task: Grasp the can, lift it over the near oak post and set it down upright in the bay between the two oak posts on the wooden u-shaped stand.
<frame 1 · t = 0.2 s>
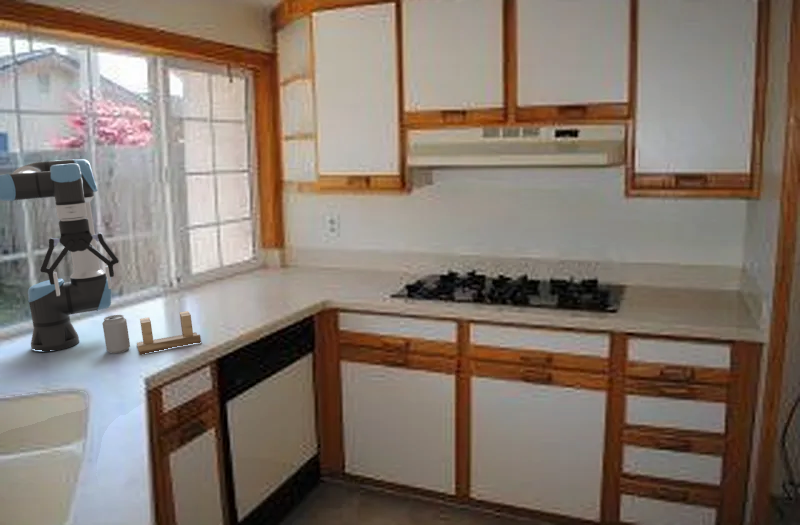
hand: (84, 291, 187), 28 cm above the countertop, fingers open, 13 cm apart
wooden u-shaped stand: (169, 344, 223), on the countertop
can: (118, 351, 221), on the countertop
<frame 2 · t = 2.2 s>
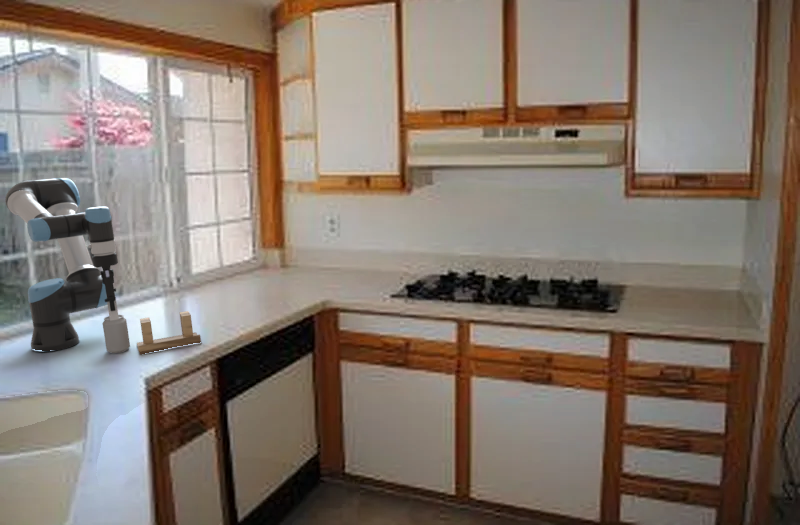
hand: (113, 315, 218), 12 cm above the countertop, fingers open, 13 cm apart
nothing on the countertop moved.
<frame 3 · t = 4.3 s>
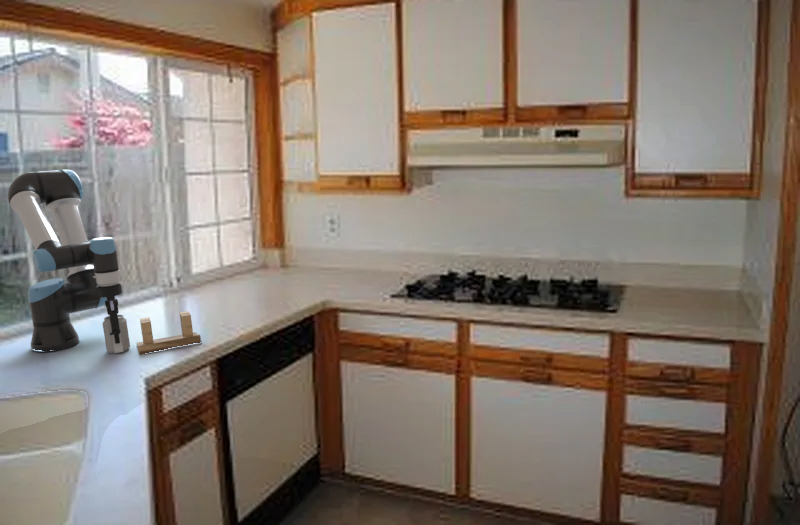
hand: (118, 348, 220), 1 cm above the countertop, fingers closed on can, 7 cm apart
can: (118, 350, 220), on the countertop, touching gripper
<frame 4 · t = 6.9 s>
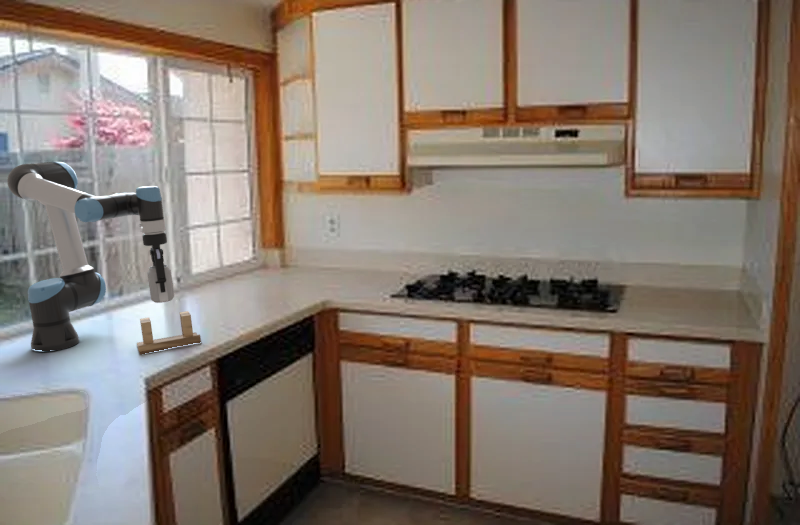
hand: (162, 298, 220), 16 cm above the countertop, fingers closed on can, 7 cm apart
can: (163, 301, 220), point 16 cm above the countertop, touching gripper
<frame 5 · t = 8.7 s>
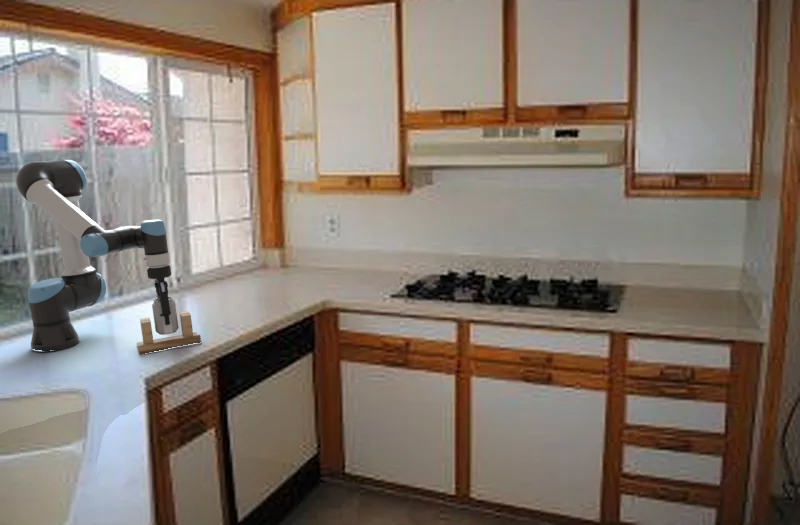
hand: (167, 330, 222), 5 cm above the countertop, fingers closed on can, 7 cm apart
can: (167, 332, 223), point 4 cm above the countertop, touching gripper
when the fingers open (4 cm above the countertop, at t = 9.9 s): can drops 2 cm, resting on wooden u-shaped stand.
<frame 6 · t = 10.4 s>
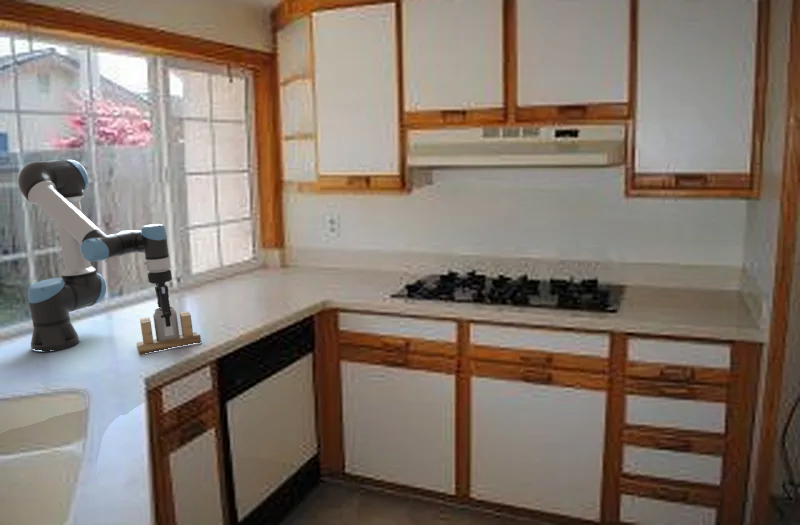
hand: (167, 330, 222), 5 cm above the countertop, fingers open, 13 cm apart
can: (168, 342, 223), point 1 cm above the countertop, touching wooden u-shaped stand
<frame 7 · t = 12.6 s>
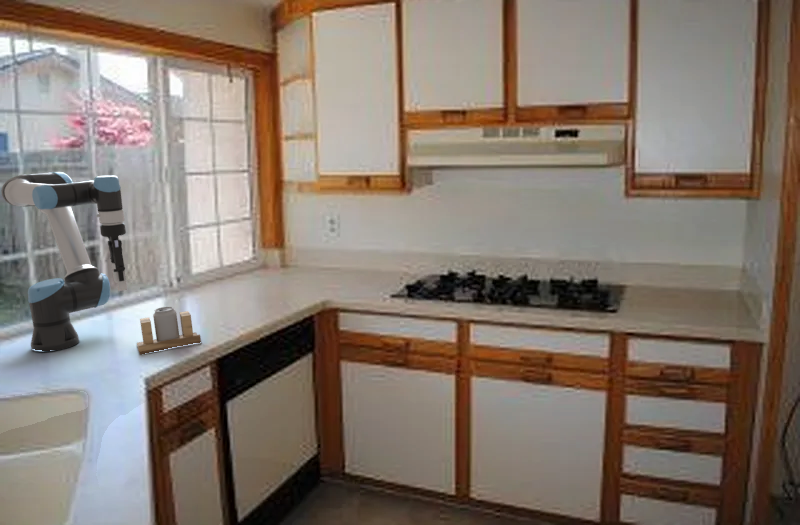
hand: (120, 286, 216), 22 cm above the countertop, fingers open, 13 cm apart
nothing on the countertop moved.
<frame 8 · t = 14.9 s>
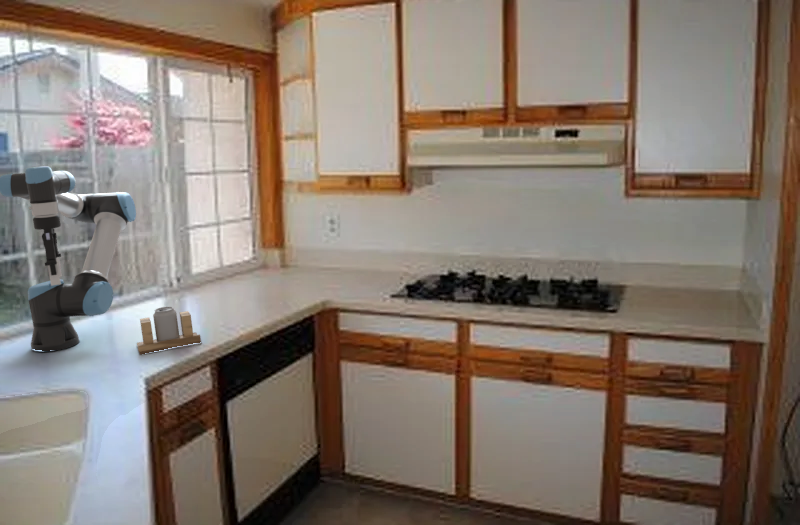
hand: (56, 281, 209), 27 cm above the countertop, fingers open, 13 cm apart
nothing on the countertop moved.
at the end: can inside the target area on the wooden u-shaped stand (0.1 cm from its centre), point 0.8 cm above the wooden u-shaped stand's base; can tilted 0°; the gripper is holding nothing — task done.
